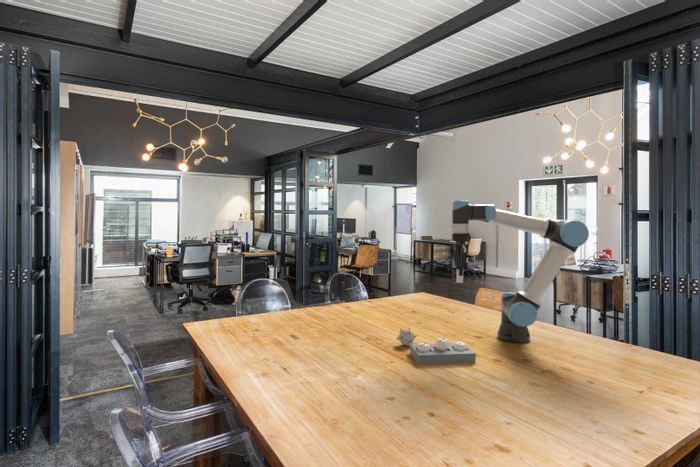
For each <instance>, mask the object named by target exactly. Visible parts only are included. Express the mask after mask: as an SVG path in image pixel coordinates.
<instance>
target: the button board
mask: <svg viewBox="0 0 700 467" xmlns="http://www.w3.org/2000/svg"><path fill="white" fill-rule="evenodd" d="M418 344H419V343H417V344H415V343H414V344H413V343H412V345H409V347H410V348H409V350H410V351H409V354H410V355H411V357H412V358H413V359H414V361H415V362H416V363H417V365H418V366H425V365H426V366H429V365H431V366H432V365H451V364H452V365H453V364H454V365H455V364H456V365H457V364H476V359H477V358H476V356H477V355H476V352H475V351H473V350H472V349H471V348H469V347H468V346H467V345H466V350H463V351H455V350H454V342H453V343H452V342H451V343H449V342H448V351H436V343H428V344H429V345H430V352H418Z"/></svg>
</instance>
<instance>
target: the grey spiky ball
mask: <svg viewBox="0 0 700 467" xmlns="http://www.w3.org/2000/svg"><path fill="white" fill-rule="evenodd" d="M417 336H418V335H415V334H414V333H413V332H412V331H411V328H410V327H409V328H408V329H407V328H406V329H402V328H400V332H399V334H398V337H396V340H398V341H399V342H400V343H401V345H402V348H404V346H410V345H413V343H414V340H415V338H417Z"/></svg>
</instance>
